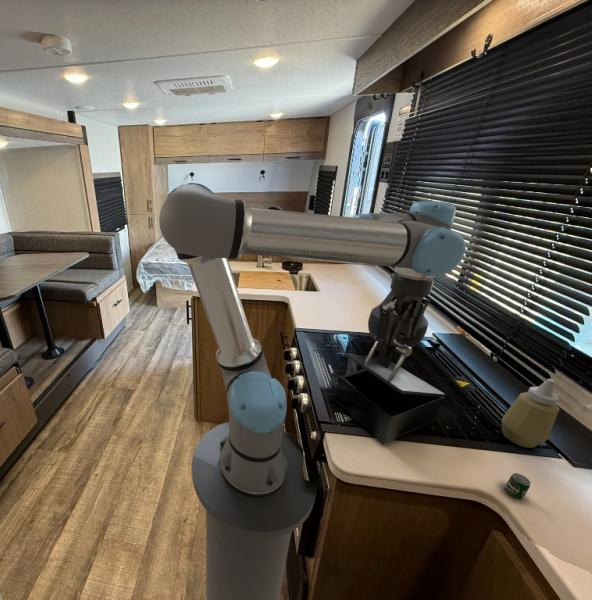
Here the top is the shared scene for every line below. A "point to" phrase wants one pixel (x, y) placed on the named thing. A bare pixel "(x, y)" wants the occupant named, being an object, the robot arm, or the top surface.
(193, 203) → the robot arm
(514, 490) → the beer can
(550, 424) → the squeeze bottle
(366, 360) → the compartment lid
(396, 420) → the compartment
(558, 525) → the top surface
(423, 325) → the pitcher
